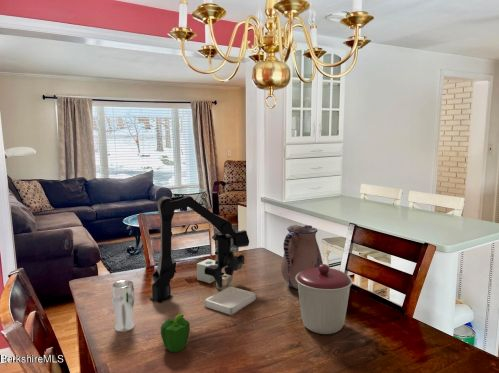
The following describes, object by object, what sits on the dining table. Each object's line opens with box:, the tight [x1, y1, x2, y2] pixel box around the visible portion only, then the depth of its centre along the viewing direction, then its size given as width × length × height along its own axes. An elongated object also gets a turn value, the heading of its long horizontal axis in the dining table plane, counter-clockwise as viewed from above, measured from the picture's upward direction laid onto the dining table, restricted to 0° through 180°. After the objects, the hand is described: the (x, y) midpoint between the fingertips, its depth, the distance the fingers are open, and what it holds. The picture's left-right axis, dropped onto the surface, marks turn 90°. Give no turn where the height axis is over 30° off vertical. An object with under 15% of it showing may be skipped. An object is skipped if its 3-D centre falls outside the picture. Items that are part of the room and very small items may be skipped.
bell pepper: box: [160, 313, 191, 353], centre depth 108 cm, size 8×8×10 cm
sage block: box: [196, 258, 218, 284], centre depth 162 cm, size 8×8×8 cm
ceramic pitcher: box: [280, 224, 324, 290], centre depth 151 cm, size 18×21×25 cm
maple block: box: [215, 274, 234, 291], centre depth 152 cm, size 5×5×5 cm
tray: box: [204, 286, 257, 316], centre depth 138 cm, size 16×13×2 cm
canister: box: [295, 263, 353, 335], centre depth 119 cm, size 18×18×21 cm
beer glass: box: [111, 279, 135, 333], centre depth 120 cm, size 7×7×15 cm
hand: (224, 285), depth 152 cm, fingers open, 5 cm apart
